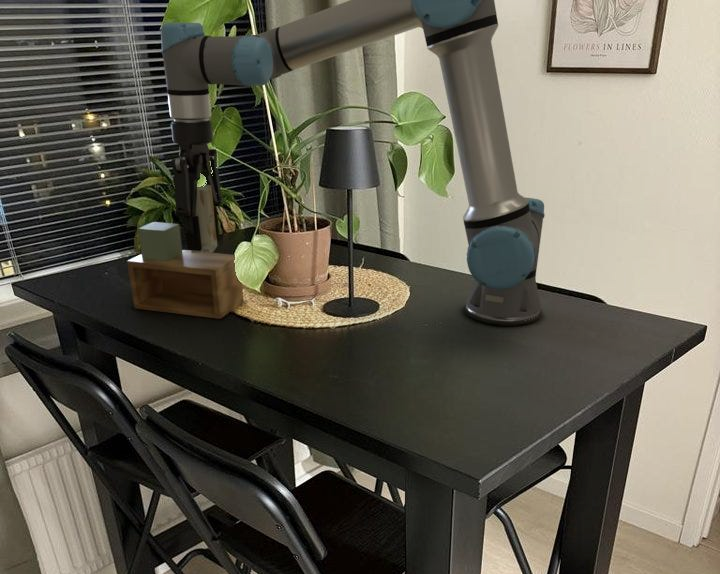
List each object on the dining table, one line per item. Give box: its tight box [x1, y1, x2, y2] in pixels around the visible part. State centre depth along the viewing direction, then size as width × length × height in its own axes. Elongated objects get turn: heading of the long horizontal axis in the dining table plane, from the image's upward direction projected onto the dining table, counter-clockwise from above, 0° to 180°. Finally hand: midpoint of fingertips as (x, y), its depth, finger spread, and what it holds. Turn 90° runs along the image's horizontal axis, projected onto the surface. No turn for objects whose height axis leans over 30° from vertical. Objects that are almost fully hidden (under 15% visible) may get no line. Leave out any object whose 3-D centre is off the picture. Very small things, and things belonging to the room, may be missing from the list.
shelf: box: [126, 249, 244, 320], centre depth 158 cm, size 11×20×10 cm, turn 72°
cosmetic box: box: [190, 185, 218, 253], centre depth 149 cm, size 6×4×12 cm
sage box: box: [137, 221, 183, 261], centre depth 155 cm, size 6×6×6 cm
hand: (204, 244), depth 152 cm, fingers closed on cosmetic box, 7 cm apart
